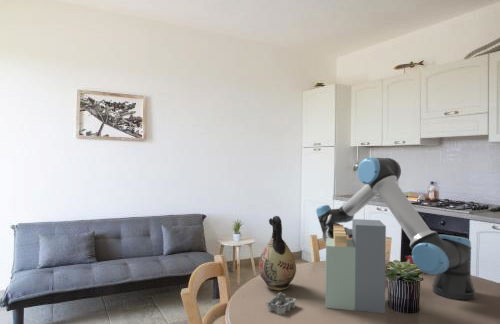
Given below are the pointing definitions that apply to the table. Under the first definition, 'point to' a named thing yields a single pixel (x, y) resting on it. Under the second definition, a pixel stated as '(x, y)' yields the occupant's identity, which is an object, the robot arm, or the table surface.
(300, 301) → the table surface
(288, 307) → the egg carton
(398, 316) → the table surface
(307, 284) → the table surface
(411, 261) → the flower
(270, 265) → the ceramic jug
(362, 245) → the two-step stand
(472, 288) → the robot arm
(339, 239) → the oak bar
